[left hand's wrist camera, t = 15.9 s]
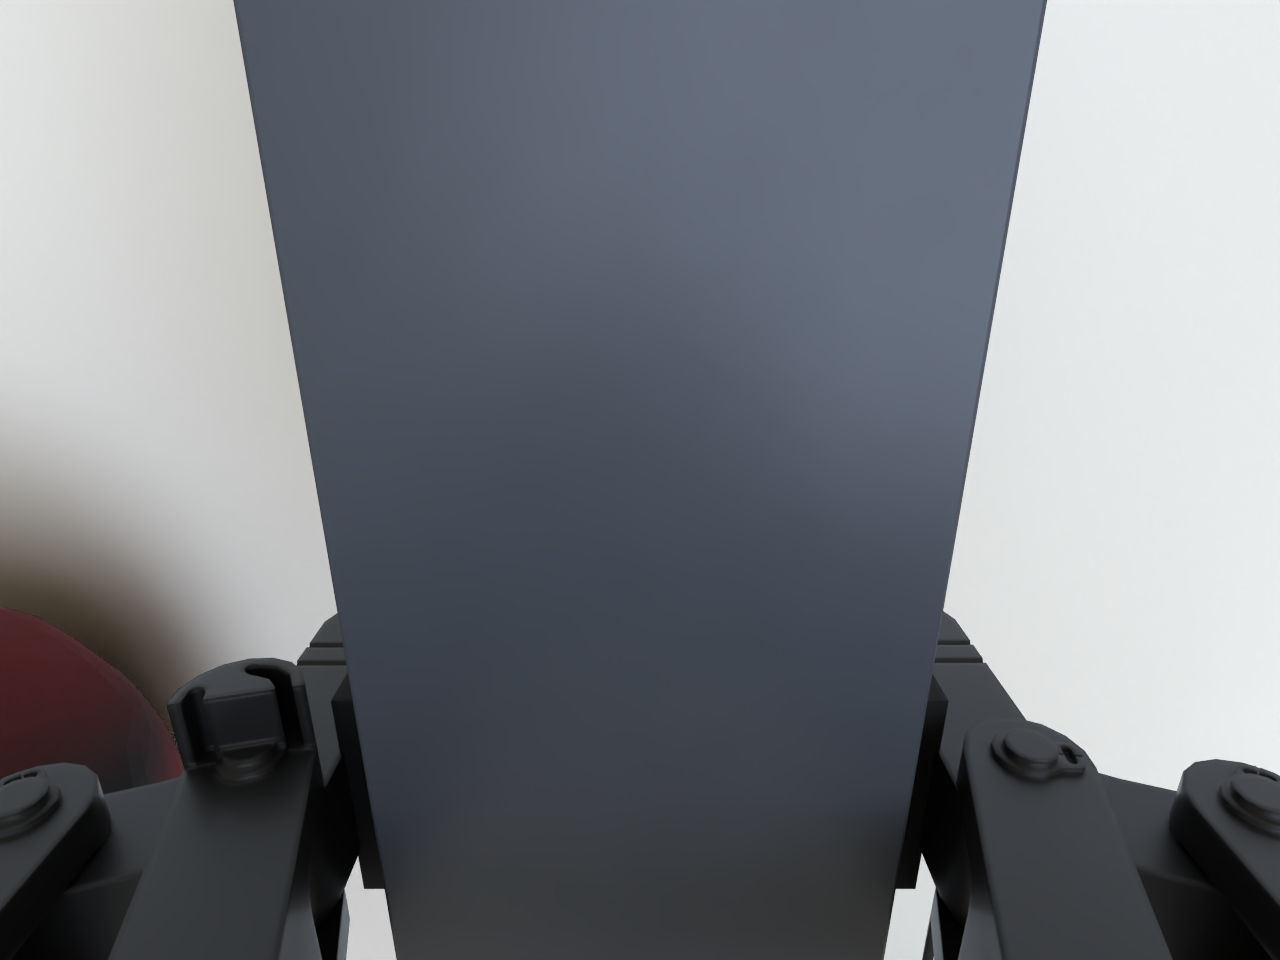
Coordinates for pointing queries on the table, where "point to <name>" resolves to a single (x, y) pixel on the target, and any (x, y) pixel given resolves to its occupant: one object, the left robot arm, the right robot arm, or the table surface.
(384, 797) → the bar
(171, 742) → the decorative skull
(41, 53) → the table surface
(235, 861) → the left robot arm
